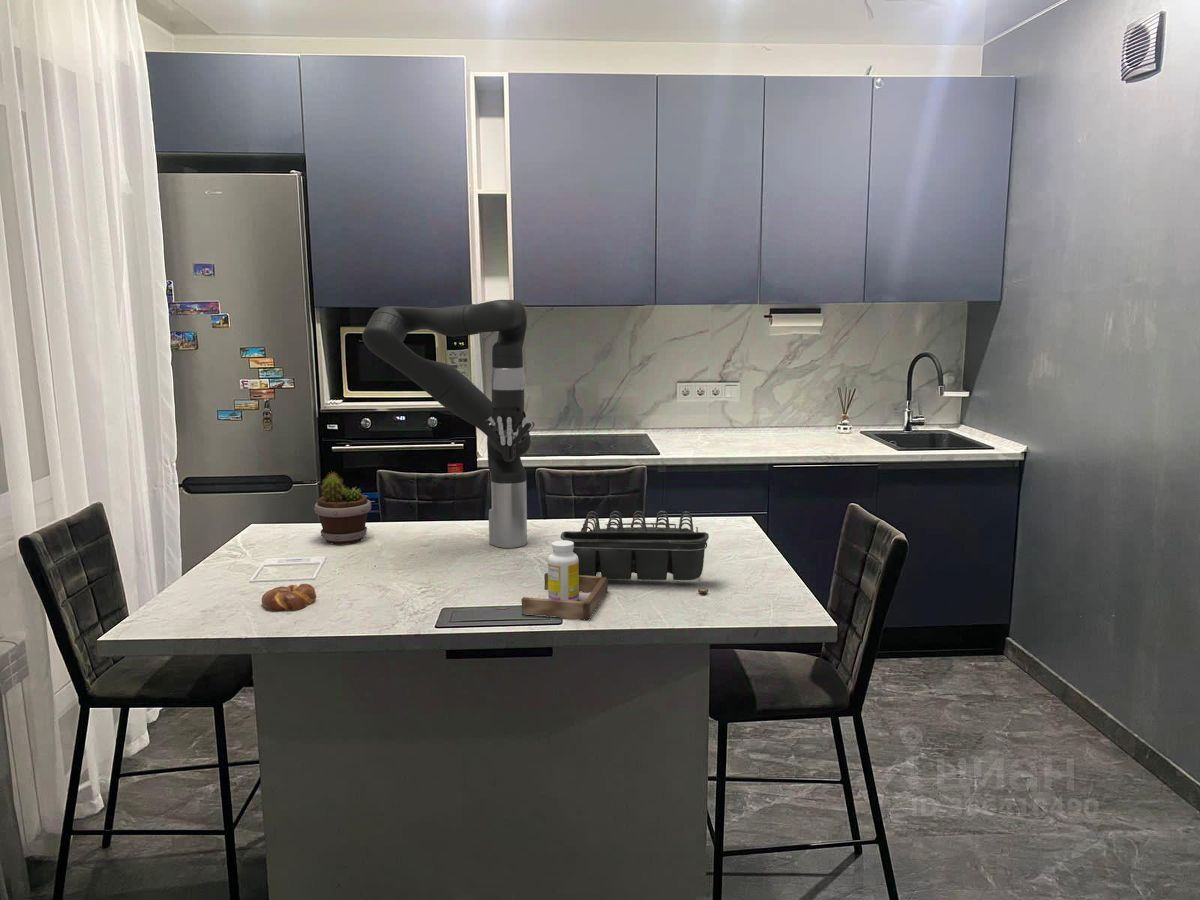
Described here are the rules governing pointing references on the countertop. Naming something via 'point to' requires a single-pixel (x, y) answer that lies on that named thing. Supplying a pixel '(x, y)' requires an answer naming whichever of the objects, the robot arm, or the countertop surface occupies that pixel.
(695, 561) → the dish rack
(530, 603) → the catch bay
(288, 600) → the pretzel
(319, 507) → the flowerpot
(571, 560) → the supplement bottle
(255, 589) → the countertop surface
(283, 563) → the photo frame
